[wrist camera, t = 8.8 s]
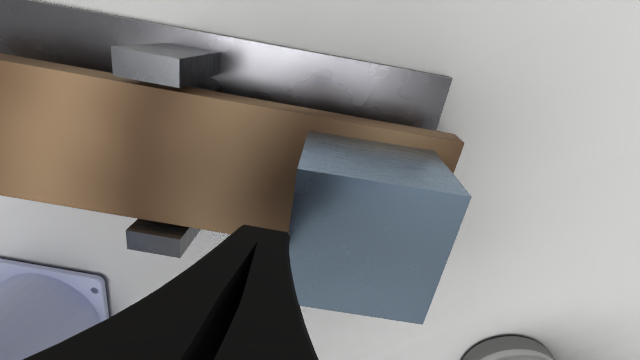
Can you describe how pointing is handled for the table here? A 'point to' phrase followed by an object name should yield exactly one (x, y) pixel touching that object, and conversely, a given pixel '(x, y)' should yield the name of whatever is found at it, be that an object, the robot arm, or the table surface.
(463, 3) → the table surface
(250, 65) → the stand
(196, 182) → the beam
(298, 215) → the block
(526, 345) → the travel mug
